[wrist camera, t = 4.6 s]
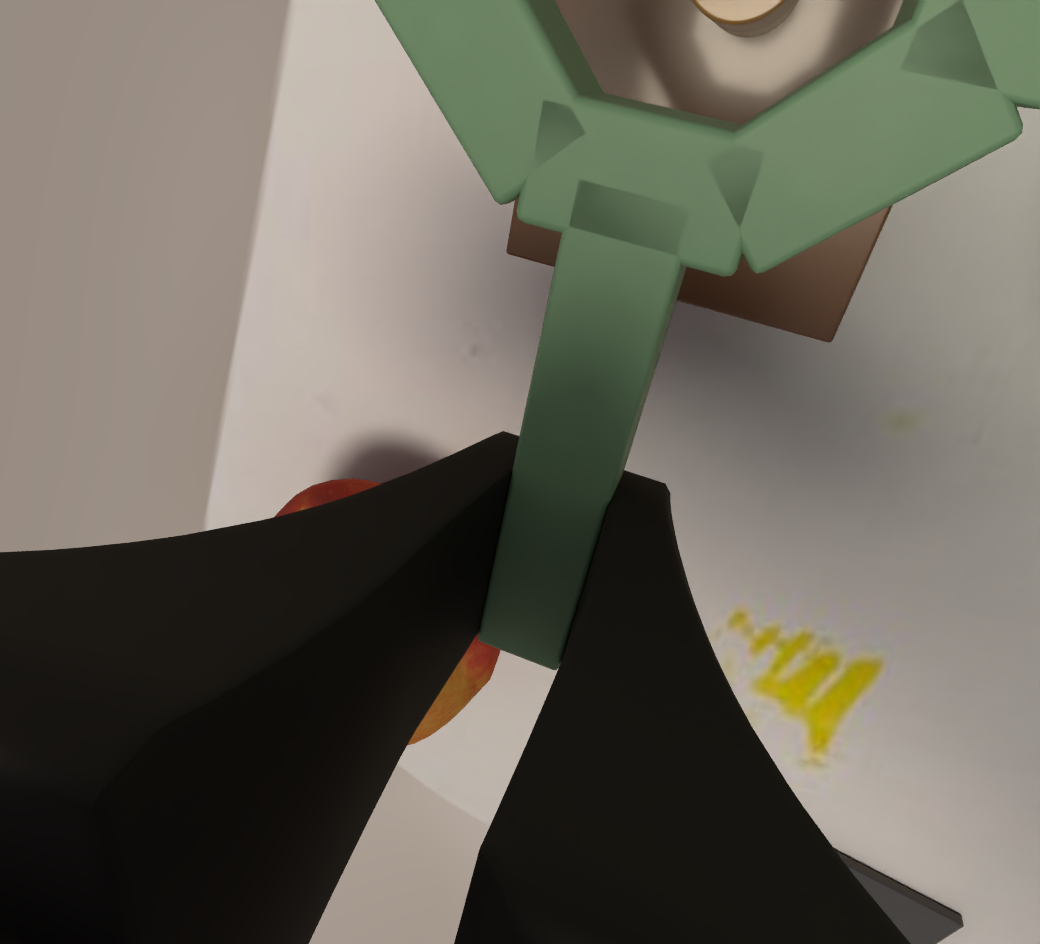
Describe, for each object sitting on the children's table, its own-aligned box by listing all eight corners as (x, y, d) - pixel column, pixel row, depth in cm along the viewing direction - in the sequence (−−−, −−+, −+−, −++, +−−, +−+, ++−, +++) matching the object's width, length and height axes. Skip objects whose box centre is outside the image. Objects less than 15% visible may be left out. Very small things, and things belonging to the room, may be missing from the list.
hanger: (472, -672, 5) (398, -852, 4) (1379, -643, 4) (1567, -869, 3) (369, 540, 11) (327, 585, 10) (730, 673, 10) (724, 737, 9)
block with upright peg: (650, -290, 13) (546, -577, 7) (1049, -238, 12) (1298, -535, 6) (549, 226, 18) (440, 295, 12) (823, 298, 17) (844, 413, 11)
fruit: (561, 495, 22) (466, 676, 15) (507, 669, 26) (413, 868, 20) (337, 410, 23) (158, 544, 17) (320, 590, 28) (172, 753, 21)
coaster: (962, 915, 25) (964, 926, 25) (848, 988, 29) (848, 999, 28) (777, 819, 26) (777, 829, 25) (690, 904, 29) (689, 913, 29)
